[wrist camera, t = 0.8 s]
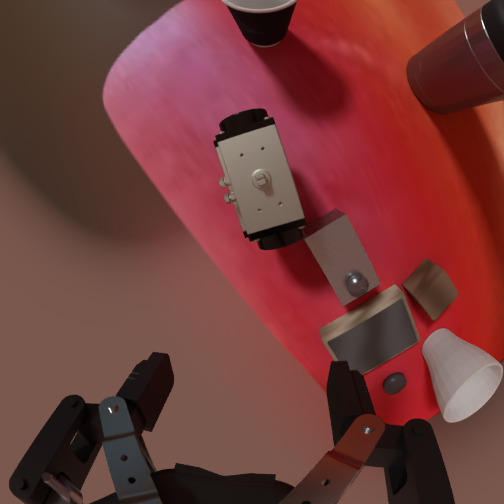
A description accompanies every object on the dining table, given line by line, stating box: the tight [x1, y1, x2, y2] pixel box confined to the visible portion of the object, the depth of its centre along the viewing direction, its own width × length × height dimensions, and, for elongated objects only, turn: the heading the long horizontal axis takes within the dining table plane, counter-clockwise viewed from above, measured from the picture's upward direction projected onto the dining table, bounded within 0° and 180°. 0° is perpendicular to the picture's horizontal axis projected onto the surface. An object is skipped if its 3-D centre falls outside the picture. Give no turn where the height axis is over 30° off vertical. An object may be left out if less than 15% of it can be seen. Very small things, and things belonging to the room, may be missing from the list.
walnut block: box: [402, 259, 459, 321], centre depth 30 cm, size 5×5×5 cm
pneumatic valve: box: [213, 108, 307, 250], centre depth 25 cm, size 6×12×12 cm, turn 18°
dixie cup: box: [221, 0, 298, 47], centre depth 20 cm, size 8×8×11 cm
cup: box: [422, 328, 503, 422], centre depth 29 cm, size 10×10×14 cm
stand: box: [319, 284, 420, 375], centre depth 34 cm, size 12×9×3 cm
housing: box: [304, 208, 381, 306], centre depth 30 cm, size 9×5×6 cm, turn 33°
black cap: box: [383, 372, 407, 395], centre depth 37 cm, size 4×4×2 cm
